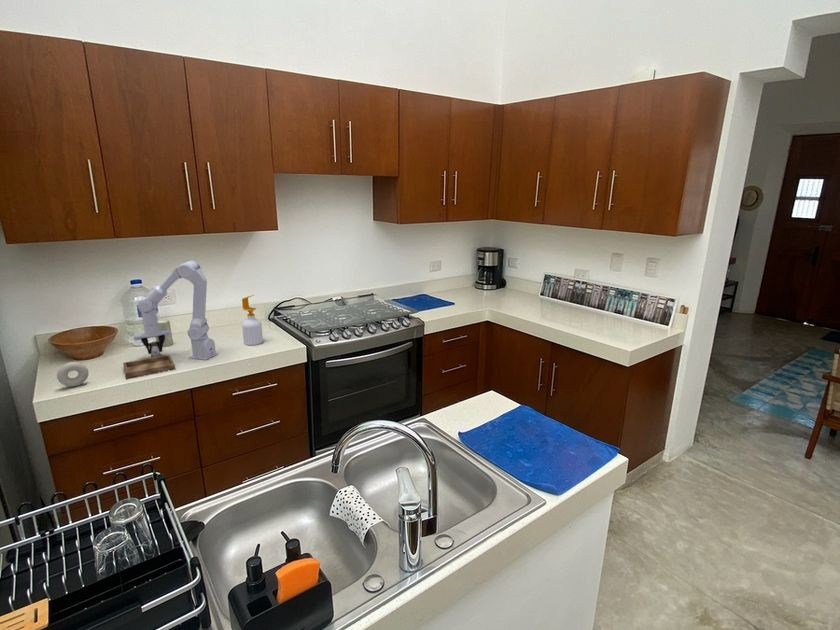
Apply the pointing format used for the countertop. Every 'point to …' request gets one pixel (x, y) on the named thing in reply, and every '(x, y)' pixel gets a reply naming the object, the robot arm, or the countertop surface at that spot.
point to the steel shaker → (154, 349)
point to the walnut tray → (148, 366)
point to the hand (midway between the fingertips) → (155, 352)
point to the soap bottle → (251, 326)
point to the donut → (72, 366)
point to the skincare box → (165, 326)
